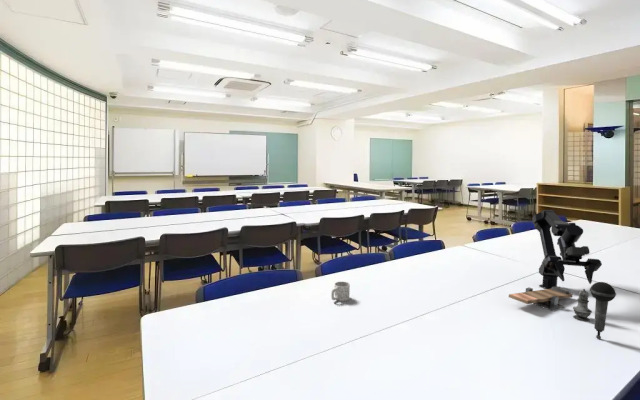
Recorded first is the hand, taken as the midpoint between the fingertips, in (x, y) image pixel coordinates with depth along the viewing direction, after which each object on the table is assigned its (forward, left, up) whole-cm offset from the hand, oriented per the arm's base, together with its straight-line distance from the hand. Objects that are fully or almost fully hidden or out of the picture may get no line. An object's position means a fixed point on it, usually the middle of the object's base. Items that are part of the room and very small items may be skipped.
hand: (576, 282), depth 136 cm
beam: (+3, -11, -9) cm, 15 cm away
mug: (+79, -53, -13) cm, 96 cm away
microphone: (+16, +16, -13) cm, 26 cm away
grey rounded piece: (+4, +5, -13) cm, 14 cm away
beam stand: (+3, -11, -12) cm, 17 cm away
